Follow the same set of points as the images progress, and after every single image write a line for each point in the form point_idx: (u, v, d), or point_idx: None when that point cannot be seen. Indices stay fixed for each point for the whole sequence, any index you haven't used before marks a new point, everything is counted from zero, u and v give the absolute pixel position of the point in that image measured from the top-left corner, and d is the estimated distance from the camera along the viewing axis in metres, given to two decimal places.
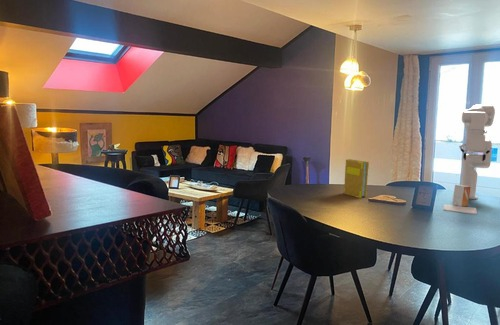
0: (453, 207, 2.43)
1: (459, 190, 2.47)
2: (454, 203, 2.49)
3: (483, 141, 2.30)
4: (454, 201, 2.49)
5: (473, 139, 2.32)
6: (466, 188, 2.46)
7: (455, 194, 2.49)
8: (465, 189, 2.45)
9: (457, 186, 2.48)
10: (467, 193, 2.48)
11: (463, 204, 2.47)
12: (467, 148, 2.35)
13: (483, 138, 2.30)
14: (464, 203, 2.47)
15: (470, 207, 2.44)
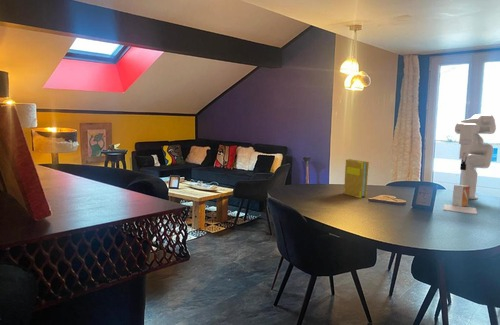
0: (453, 207, 2.43)
1: (458, 190, 2.47)
2: (454, 203, 2.49)
3: None
4: (454, 201, 2.49)
5: None
6: (465, 188, 2.46)
7: (454, 194, 2.49)
8: (464, 189, 2.45)
9: (456, 186, 2.48)
10: (466, 193, 2.48)
11: (463, 204, 2.47)
12: (467, 157, 2.51)
13: None
14: (464, 203, 2.47)
15: (470, 207, 2.44)
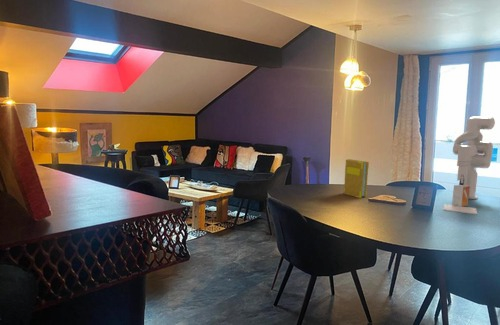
0: (453, 207, 2.43)
1: (458, 190, 2.47)
2: (454, 203, 2.49)
3: None
4: (454, 201, 2.49)
5: None
6: (465, 188, 2.46)
7: (454, 194, 2.49)
8: (464, 189, 2.45)
9: (456, 186, 2.48)
10: (466, 193, 2.48)
11: (463, 204, 2.47)
12: (465, 179, 2.51)
13: None
14: (464, 203, 2.47)
15: (470, 207, 2.44)
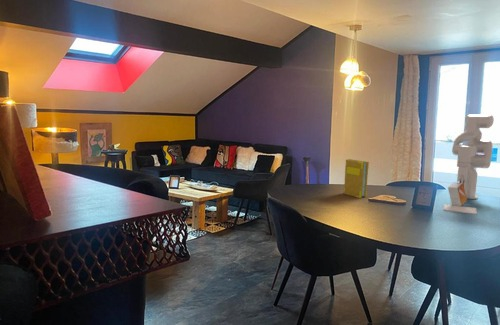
0: (453, 207, 2.43)
1: (454, 192, 2.46)
2: (453, 204, 2.49)
3: None
4: (453, 202, 2.49)
5: (467, 171, 2.48)
6: (459, 187, 2.44)
7: (451, 196, 2.48)
8: (459, 190, 2.44)
9: (450, 188, 2.47)
10: (462, 190, 2.46)
11: (462, 202, 2.46)
12: (465, 180, 2.47)
13: None
14: (463, 201, 2.47)
15: (470, 207, 2.44)
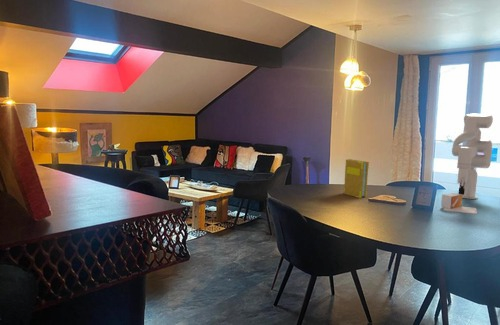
0: None
1: None
2: None
3: None
4: None
5: (467, 173, 2.42)
6: (452, 204, 2.39)
7: None
8: (452, 206, 2.39)
9: None
10: (455, 200, 2.40)
11: (460, 203, 2.44)
12: (466, 182, 2.41)
13: None
14: (460, 201, 2.44)
15: (470, 207, 2.44)
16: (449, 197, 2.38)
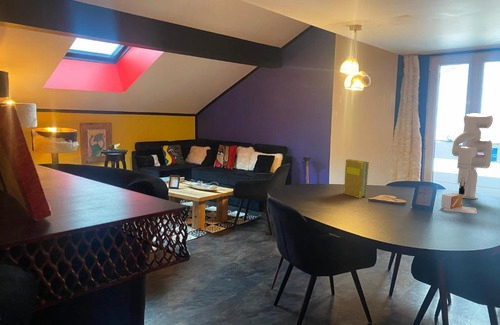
0: None
1: None
2: None
3: None
4: None
5: (467, 173, 2.42)
6: (451, 204, 2.39)
7: None
8: (452, 206, 2.39)
9: None
10: (455, 200, 2.40)
11: (460, 203, 2.44)
12: (466, 182, 2.41)
13: None
14: (460, 201, 2.44)
15: (470, 207, 2.44)
16: (449, 197, 2.38)
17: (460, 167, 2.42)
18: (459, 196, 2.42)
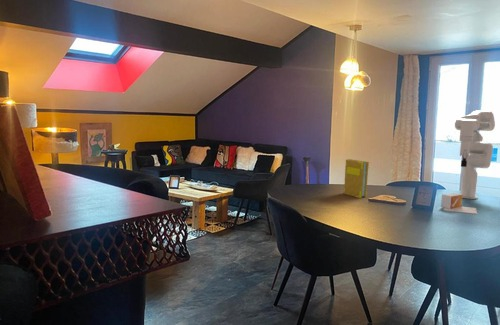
0: None
1: None
2: None
3: None
4: None
5: (469, 145, 2.49)
6: (451, 204, 2.39)
7: None
8: (452, 206, 2.39)
9: None
10: (455, 200, 2.40)
11: (460, 203, 2.44)
12: (468, 154, 2.48)
13: None
14: (460, 201, 2.44)
15: (470, 207, 2.44)
16: (449, 197, 2.39)
17: (462, 140, 2.49)
18: (459, 196, 2.42)
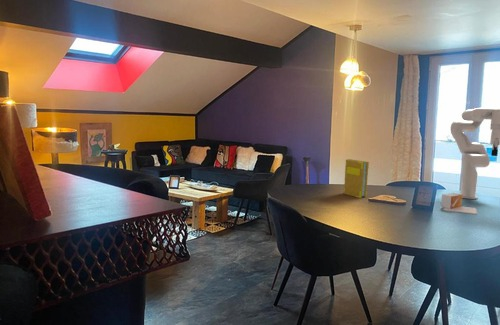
0: None
1: None
2: None
3: None
4: None
5: None
6: (451, 204, 2.39)
7: None
8: (452, 206, 2.39)
9: None
10: (455, 200, 2.40)
11: (460, 203, 2.44)
12: (499, 143, 2.44)
13: None
14: (460, 201, 2.44)
15: (470, 207, 2.44)
16: (449, 197, 2.39)
17: (493, 128, 2.46)
18: (459, 196, 2.42)
